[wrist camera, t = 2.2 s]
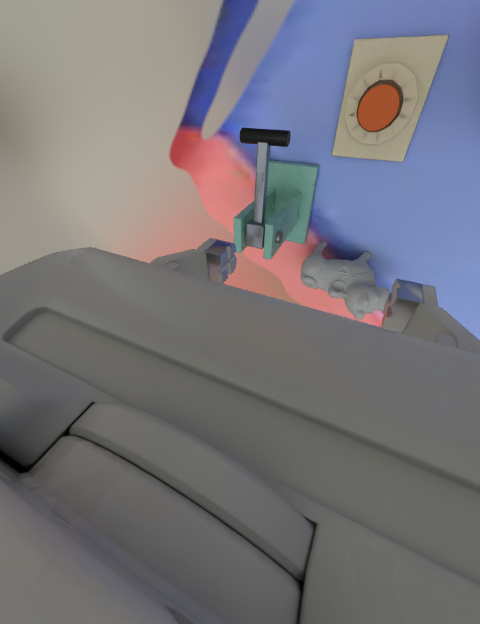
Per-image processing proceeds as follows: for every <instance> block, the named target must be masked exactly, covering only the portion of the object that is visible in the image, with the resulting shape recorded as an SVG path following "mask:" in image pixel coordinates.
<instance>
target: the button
mask: <svg viewBox="0 0 480 624" xmlns="http://www.w3.org/2000/svg"><path fill="white" fill-rule="evenodd" d="M399 104H400V95H399V92H398V90H397V89H396V88H395V87H394V86H393V85H391V84H380V85H377V86H375V87H374V88H372V89H371V90H370V91H368V92H367V93H366V95H365V96H364V97H363V99H362V100H361V102H360V105H359V109H358V119H359V122H360V124H361V126H362V127H363V128H365V129H366V130H369V131H376V130H380V129H382V128H384V127H385V126H387V125H388V124H389V123H390V122H391V121H392V120H393V118H394V117H395V115H396V113H397V111H398V108H399Z"/></svg>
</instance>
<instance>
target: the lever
mask: <svg viewBox="0 0 480 624" xmlns="http://www.w3.org/2000/svg"><path fill="white" fill-rule="evenodd" d="M240 141H241V143H248V144H258V147H257V166H256V185H255V203H254V219H252V220H251V221H250V222H248V223H247V233H246V245H247V246H251V247H256V248H260V249H262V248H263V247H264V239H265V224H266V223H267V222H268V221H269V220H265V209H266V196H267V184H268V171H269V159H270V146H282V147H288V145H289V142H290V131H286V130H270V129H255V128H242V129H241V131H240Z"/></svg>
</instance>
